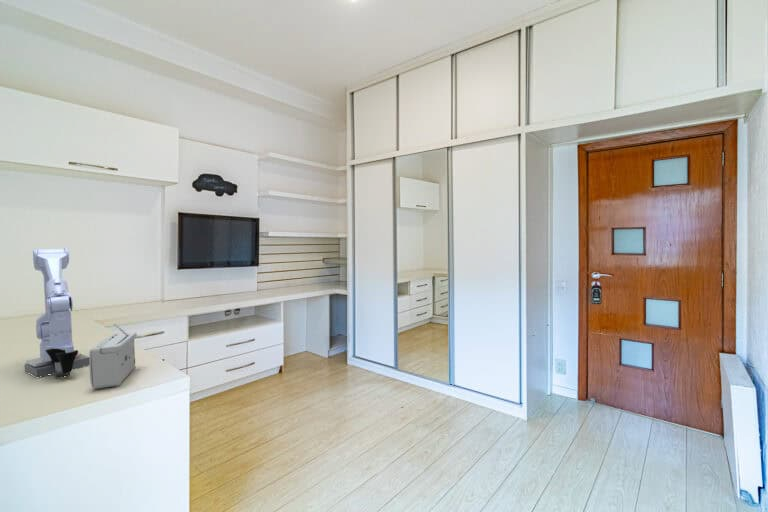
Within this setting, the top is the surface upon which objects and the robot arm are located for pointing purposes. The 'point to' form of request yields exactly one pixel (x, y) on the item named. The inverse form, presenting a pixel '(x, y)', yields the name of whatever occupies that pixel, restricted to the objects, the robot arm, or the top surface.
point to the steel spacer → (60, 370)
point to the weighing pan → (43, 360)
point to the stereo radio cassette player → (112, 360)
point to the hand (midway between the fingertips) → (62, 370)
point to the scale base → (50, 369)
